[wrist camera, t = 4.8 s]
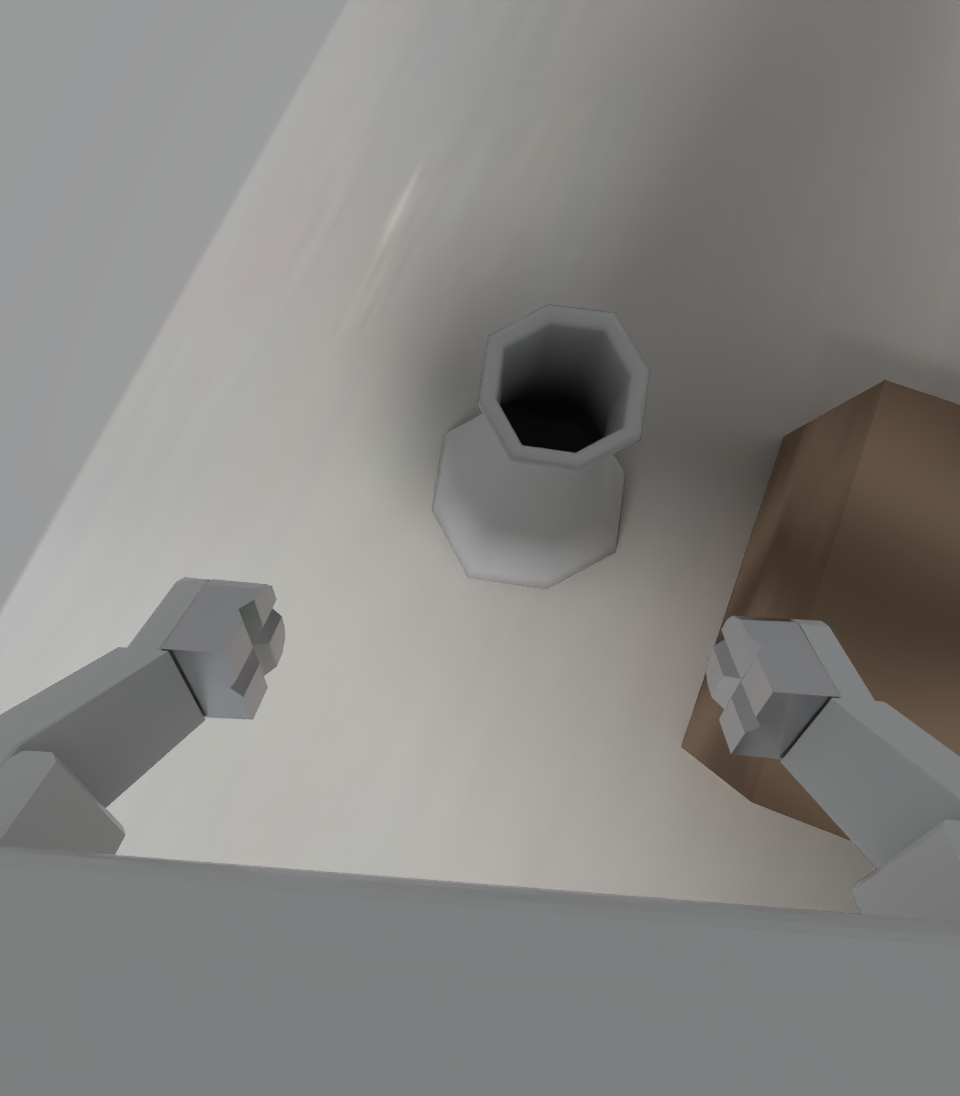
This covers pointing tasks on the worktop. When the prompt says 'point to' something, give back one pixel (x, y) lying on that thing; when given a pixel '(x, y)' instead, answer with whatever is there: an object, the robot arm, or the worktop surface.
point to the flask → (543, 449)
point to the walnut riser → (857, 571)
